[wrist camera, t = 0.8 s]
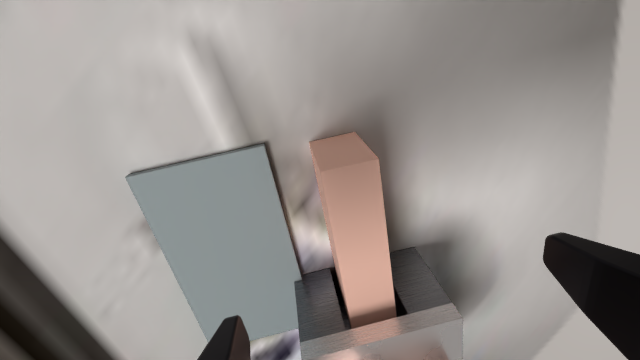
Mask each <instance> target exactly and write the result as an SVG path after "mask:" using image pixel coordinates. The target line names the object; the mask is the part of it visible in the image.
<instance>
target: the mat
mask: <svg viewBox="0 0 640 360" xmlns="http://www.w3.org/2000/svg"><path fill="white" fill-rule="evenodd" d="M125 178H126V180H127V182H128V184H129V186H130V188H131V190H132V192H133V194H134V196H135V198H136V200H137V202H138V204H139V206H140V208H141V210H142V212H143V214H144V216H145V218H146V220H147V222H148V224H149V226H150V228H151V230H152V232H153V234H154V236H155V238H156V240H157V242H158V244H159V246H160V248H161V250H162V252H163V254H164V256H165V258H166V260H167V262H168V264H169V266H170V267H171V269H172V271H173V273H174V275H175V277H176V279H177V281H178V283H179V285H180V287H181V289H182V291H183V293H184V295H185V297H186V299H187V301H188V303H189V305H190V307H191V309H192V311H193V313H194V315H195V317H196V319H197V321H198V323H199V325H200V327H201V329H202V331H203V333H204V335H205V337H206V339H207V341H208V343H209V341H210V339H211V338H212V336H213V335H214V333H215V332H216V330H217V329H218V327H219V326H220V324H221V323H222V321H223V320H224V319H225V318H227V317H231V316H235V315H239V316H240V317H241V318H242V321H243V323H244V326H245V328H246V330H247V333H248V336H249V340H250V341H251V340H255V339H259V338H263V337H267V336H270V335H274V334H278V333H282V332H286V331H290V330H294V329H297V328H299V327H298V317H297V307H296V297H295V286H294V282H295V281H299V280H302V277H301V273H300V269H299V266H298V262H297V258H296V255H295V251H294V248H293V244H292V241H291V237H290V234H289V230H288V226H287V223H286V219H285V216H284V212H283V209H282V205H281V202H280V198H279V195H278V191H277V187H276V184H275V180H274V177H273V173H272V170H271V166H270V163H269V159H268V155H267V152H266V148H265V145H264V144H259V145H255V146H251V147H246V148H242V149H237V150H233V151H229V152H224V153H220V154H216V155H211V156H207V157H203V158H198V159H194V160H189V161H185V162H181V163H176V164H172V165H168V166H163V167H159V168H155V169H150V170H146V171H142V172H137V173H133V174H128V175H127V176H126V177H125Z"/></svg>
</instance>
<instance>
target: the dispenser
mask: <svg viewBox="0 0 640 360" xmlns="http://www.w3.org/2000/svg"><path fill="white" fill-rule="evenodd" d="M389 254H390V263H391V272H392V281H393V290H394V299H395V308H396V316H397V317H396V318H392V319H388V320H385V321H381V322H377V323H373V324H369V325H365V326H362V327H358V328H354V329H351V326H350V323H349V319H348V316H347V312H346V309H345V305H344V301H343V298H342V295H341V296H336V292H335V288H334V284H333V280H332V276H331V272H330V268H329V269H325V270H321V271H317V272H313V273H309V274H305V275H301V277H302V280H299V281H295V282H294V286H295V297H296V307H297V317H298V327H299V337H300V347H301V358H302V360H459V359H463V318H462V316H461V315H460V313H459V312H458V310H457V309H456V307H455V306H454V305H453V303H452V302H451V300H450V299H449V297H448V296H447V294H446V293H445V291H444V290H443V288H442V287H441V286H440V284H439V283H438V281H437V280H436V278H435V277H434V275H433V274H432V272H431V271H430V269H429V268H428V267H427V265H426V264H425V262H424V261H423V259H422V258H421V256H420V255H419V253H418V252H417V251H416V249H415V248H414V247H412V248H408V249H404V250H401V251H397V252H393V253H389Z"/></svg>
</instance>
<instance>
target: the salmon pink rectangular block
mask: <svg viewBox="0 0 640 360" xmlns="http://www.w3.org/2000/svg"><path fill="white" fill-rule="evenodd" d="M309 144H310V149H311V154H312V159H313V163H314V168H315V173H316V178H317V183H318V187H319V192H320V197H321V202H322V207H323V211H324V216H325V221H326V226H327V231H328V235H329V240H330V245H331V250H332V254H333V259H334V264H335V269H336V274H337V278H338V283H339V287H340V291H341V294H342V298H343V301H344V305H345V309H346V312H347V316H348V319H349V323H350V326H351V329H354V328H358V327H362V326H365V325H369V324H373V323H377V322H381V321H385V320H388V319H392V318H396V317H397V316H396V308H395V299H394V290H393V281H392V272H391V263H390V254H389V245H388V236H387V227H386V218H385V209H384V200H383V191H382V183H381V174H380V165H379V158H378V157H377V156H376V155H375V154H374V153H373V152H372V150H371V149H370V148H369V147H368V146H367V145H366V144H365V143H364V141H363V140H362V139H361V138H360V137H359V136H358V135H357V134H356V132H352V133H347V134H343V135H338V136H334V137H329V138H325V139H320V140H316V141H311V142H309Z"/></svg>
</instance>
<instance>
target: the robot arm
mask: <svg viewBox="0 0 640 360" xmlns="http://www.w3.org/2000/svg"><path fill="white" fill-rule="evenodd" d="M543 261H544V263H545V265H546V267H547V268H548V269H549V271H550V272H551V273H552V274H553V276H554V277H555V278H556V279H557V281H558V282H559V283H560V284H561V286H562V287H563V288H564V289H565V291H566V292H567V293H568V294H569V296H570V297H571V298H572V299H573V301H574V302H575V303H576V304H577V306H578V307H579V308H580V309H581V310H582V311H583V313H584V314H585V315H586V316H587V317H588V318H589V319H590V320H591V321H592V322H593V323H594V324H595V325H596V327H598V328H599V330H600V331H601V332H602V333H603V334H604V335H605V336H606V337H607V338H608V339H609V340H610V341H611V342H612V343H613V344H614V345H615V346H616V347H617V348H618V350H619V351H620V352H621V353H622V354H623V355H624V356H625V357H626V358H627V359H628V360H640V255H639V254H636V253H632V252H628V251H625V250H622V249H618V248H615V247H611V246H608V245H604V244H601V243H598V242H594V241H591V240H587V239H584V238H580V237H577V236H573V235H570V234H567V233H556V234H552V235H549V236H547V238H546V240H545V246H544V254H543ZM197 360H250V340H249V336H248V333H247V330H246V328H245V326H244V323H243V321H242V318H241V317H240V316H239V315H235V316H231V317H227V318H225V319H224V320H223V321H222V323H221V324H220V326H219V327H218V329H217V330H216V332H215V333H214V335H213V336H212V338H211V339H210V341H209V343H208V344H207V346H206V347H205V349H204V350H203V352H202V353H201V355H200V356H199V358H198V359H197Z"/></svg>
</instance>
